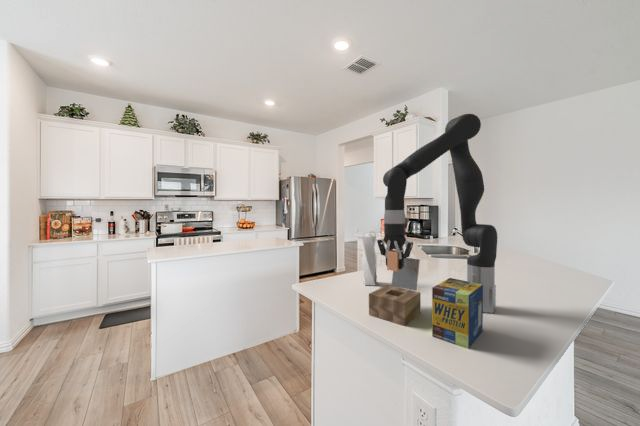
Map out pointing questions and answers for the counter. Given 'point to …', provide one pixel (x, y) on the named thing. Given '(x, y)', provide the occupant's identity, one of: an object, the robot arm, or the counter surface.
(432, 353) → the counter surface
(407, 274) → the panel
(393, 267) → the peg
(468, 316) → the protein box
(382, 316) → the hole block
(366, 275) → the skyscraper
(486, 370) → the counter surface
